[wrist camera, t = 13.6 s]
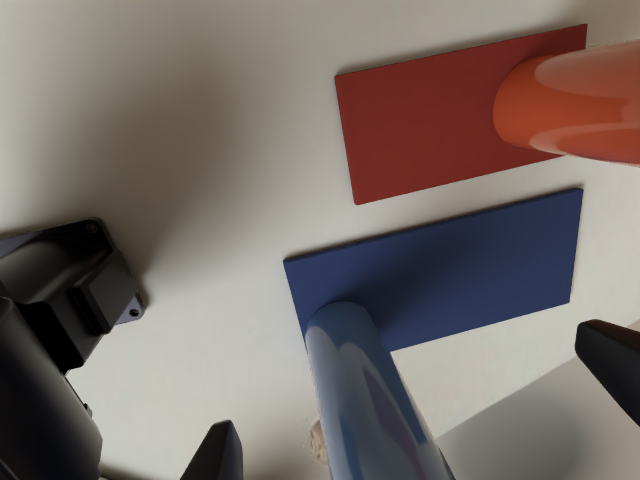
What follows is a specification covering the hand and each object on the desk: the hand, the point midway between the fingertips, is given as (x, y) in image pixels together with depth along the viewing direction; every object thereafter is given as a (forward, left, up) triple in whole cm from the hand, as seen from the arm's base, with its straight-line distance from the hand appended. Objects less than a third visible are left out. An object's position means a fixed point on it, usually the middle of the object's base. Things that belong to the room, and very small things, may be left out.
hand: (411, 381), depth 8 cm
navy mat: (+7, -7, -13) cm, 16 cm away
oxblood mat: (+9, +4, -13) cm, 16 cm away
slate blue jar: (-1, -8, -13) cm, 15 cm away
